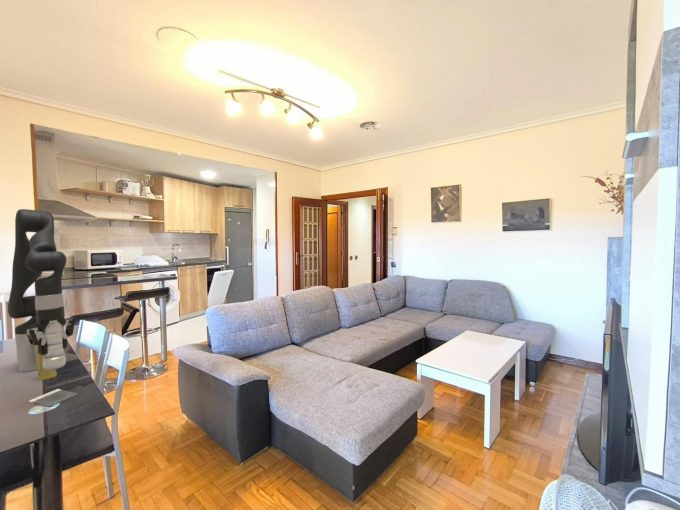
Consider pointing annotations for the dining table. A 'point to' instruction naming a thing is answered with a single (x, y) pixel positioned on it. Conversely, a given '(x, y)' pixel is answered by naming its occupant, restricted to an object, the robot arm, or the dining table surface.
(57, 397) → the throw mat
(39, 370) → the vase
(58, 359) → the plastic bottle
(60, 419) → the dining table surface
